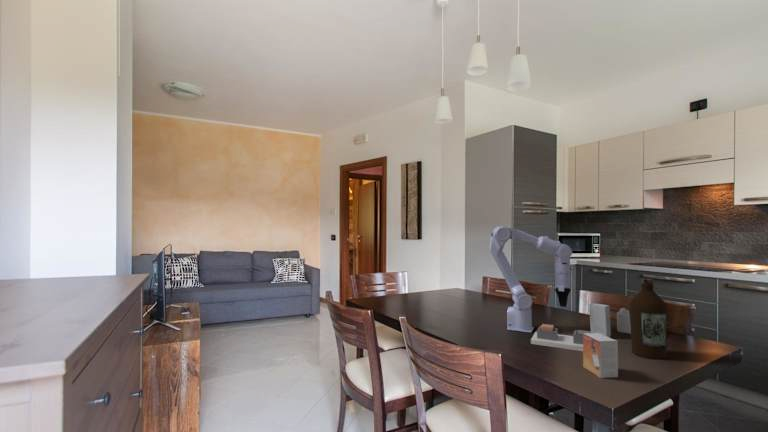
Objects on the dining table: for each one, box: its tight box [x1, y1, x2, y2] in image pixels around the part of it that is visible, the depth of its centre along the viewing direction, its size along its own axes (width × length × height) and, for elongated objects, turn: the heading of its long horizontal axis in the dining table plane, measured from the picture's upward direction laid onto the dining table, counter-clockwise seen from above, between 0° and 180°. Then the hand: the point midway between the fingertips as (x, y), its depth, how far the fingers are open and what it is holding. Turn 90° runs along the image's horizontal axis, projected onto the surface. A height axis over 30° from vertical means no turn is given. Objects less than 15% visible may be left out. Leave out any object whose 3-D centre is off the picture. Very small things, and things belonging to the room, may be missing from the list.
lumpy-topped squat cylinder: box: [616, 307, 631, 335], centre depth 153 cm, size 10×13×9 cm
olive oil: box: [628, 278, 668, 360], centre depth 125 cm, size 11×11×25 cm
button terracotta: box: [540, 323, 555, 332], centre depth 140 cm, size 4×4×4 cm
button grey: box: [577, 329, 591, 335], centre depth 134 cm, size 4×4×4 cm
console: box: [530, 325, 593, 352], centre depth 137 cm, size 22×12×4 cm, turn 60°
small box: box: [582, 333, 619, 379], centre depth 110 cm, size 8×6×10 cm
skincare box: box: [588, 302, 612, 338], centre depth 146 cm, size 6×4×12 cm
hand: (563, 306), depth 153 cm, fingers closed
